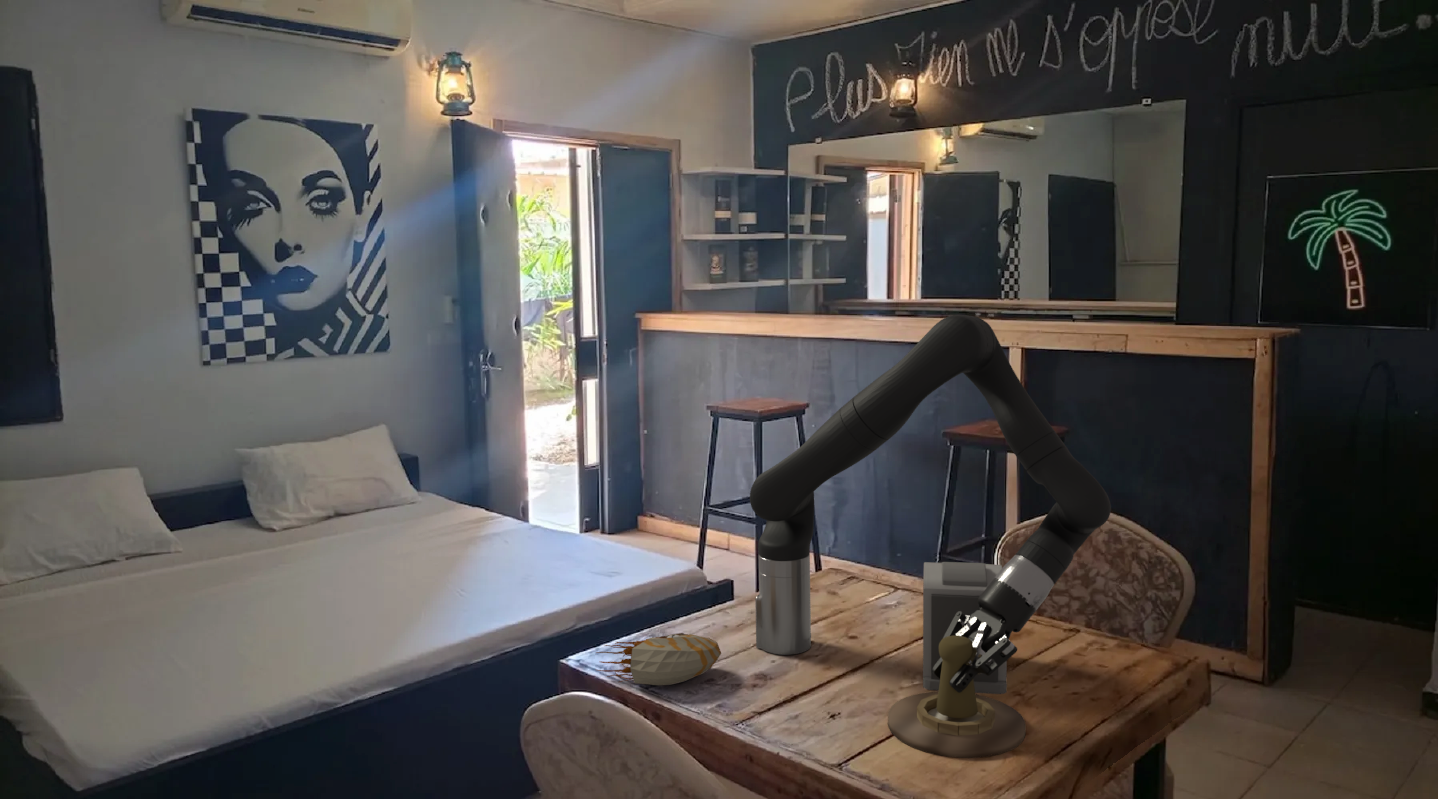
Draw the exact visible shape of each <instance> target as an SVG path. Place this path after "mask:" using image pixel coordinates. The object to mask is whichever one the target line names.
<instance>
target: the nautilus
mask: <svg viewBox="0 0 1438 799" xmlns="http://www.w3.org/2000/svg"><path fill="white" fill-rule="evenodd" d="M620 644H627V646H624V645H620ZM632 645H633V646H632ZM604 646H606V647H611V648H613V649H623V650H620V651H616V652H615V651H599V652H598V651H596V652H595V653H596V654H614V655H621V654H622V657H623V659H621V660H620V661H601V660H599V662H598V663H600V664H602V663H603V664H614V665H617V664H618V665H620V664H621V665H622V666H623V669H611V670H605V669H604V670H603V669H595V671H599V672H608V673H609V672H612V673H613V672H614V673H615V674H611V675H607V676H606V678H608V677H609V678H610V677H619V678H622V679H623V680H624V679H625V680H624V682H628V681H633V682H634V684H640V685H652V686H659V687H660V686H669V685H670V686H671V685H674V684H679V683H683V682H686V681H689V680H691V679H693V678H695V677H698V676H700V675H703V674H704V673H706V671H708V670H710V669H711V668H712V667H713V666H714V664H716V662H717V661H718V659H720V656H721V655H722V652H721V649H720V646H719V644H718V641H715V640H714V639H712V638H710V637H706V636H701V635H697V634H693V633H689V634H688V633H683V632H679V633H673V634H669V635H668V634H667V635H661V636H656V637H654V636H652V637H649V638H647V639H645V640H636V641H628V642H627V641H626V642H625V641H615V642H614V644H612V645H611V644H609V645H608V644H604ZM625 656H627V657H630V658H624V657H625ZM625 664H626V665H630V666H626V665H625ZM618 673H620V674H618ZM625 676H629V677H625ZM623 680H621V681H618V682H617V683H621V682H623Z"/></svg>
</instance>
